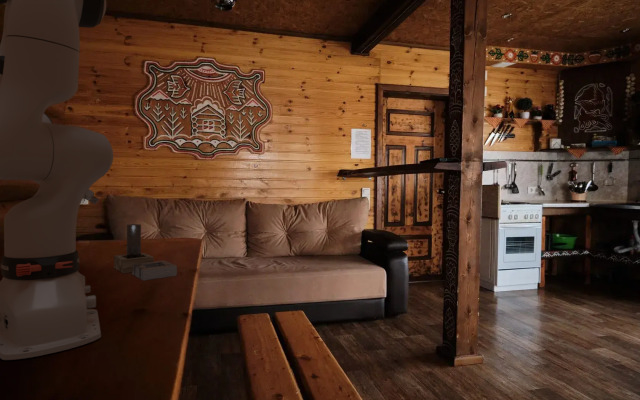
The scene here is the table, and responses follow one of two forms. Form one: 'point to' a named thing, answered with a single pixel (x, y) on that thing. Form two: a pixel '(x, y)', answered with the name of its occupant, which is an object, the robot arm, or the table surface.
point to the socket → (154, 270)
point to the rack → (130, 262)
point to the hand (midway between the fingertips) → (94, 198)
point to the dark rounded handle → (133, 241)
